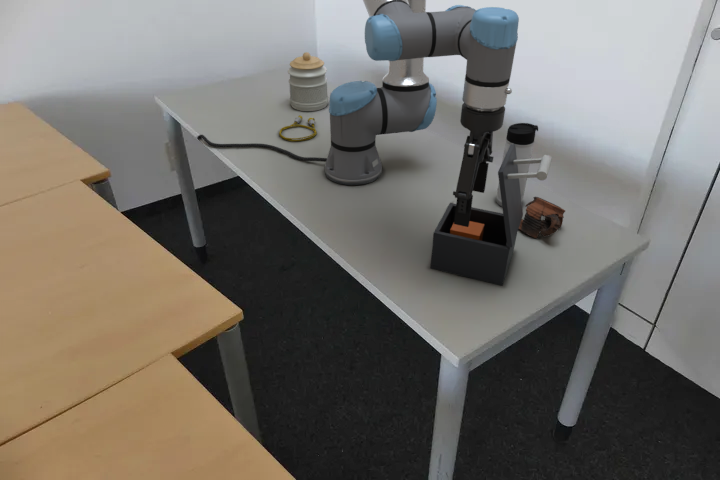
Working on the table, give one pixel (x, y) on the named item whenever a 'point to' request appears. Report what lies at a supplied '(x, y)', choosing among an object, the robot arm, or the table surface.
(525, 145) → the travel mug
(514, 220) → the hinged box lid
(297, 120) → the extension cord
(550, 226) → the pottery mug
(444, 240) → the open box
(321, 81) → the jar
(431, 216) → the table surface
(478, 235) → the orange block
